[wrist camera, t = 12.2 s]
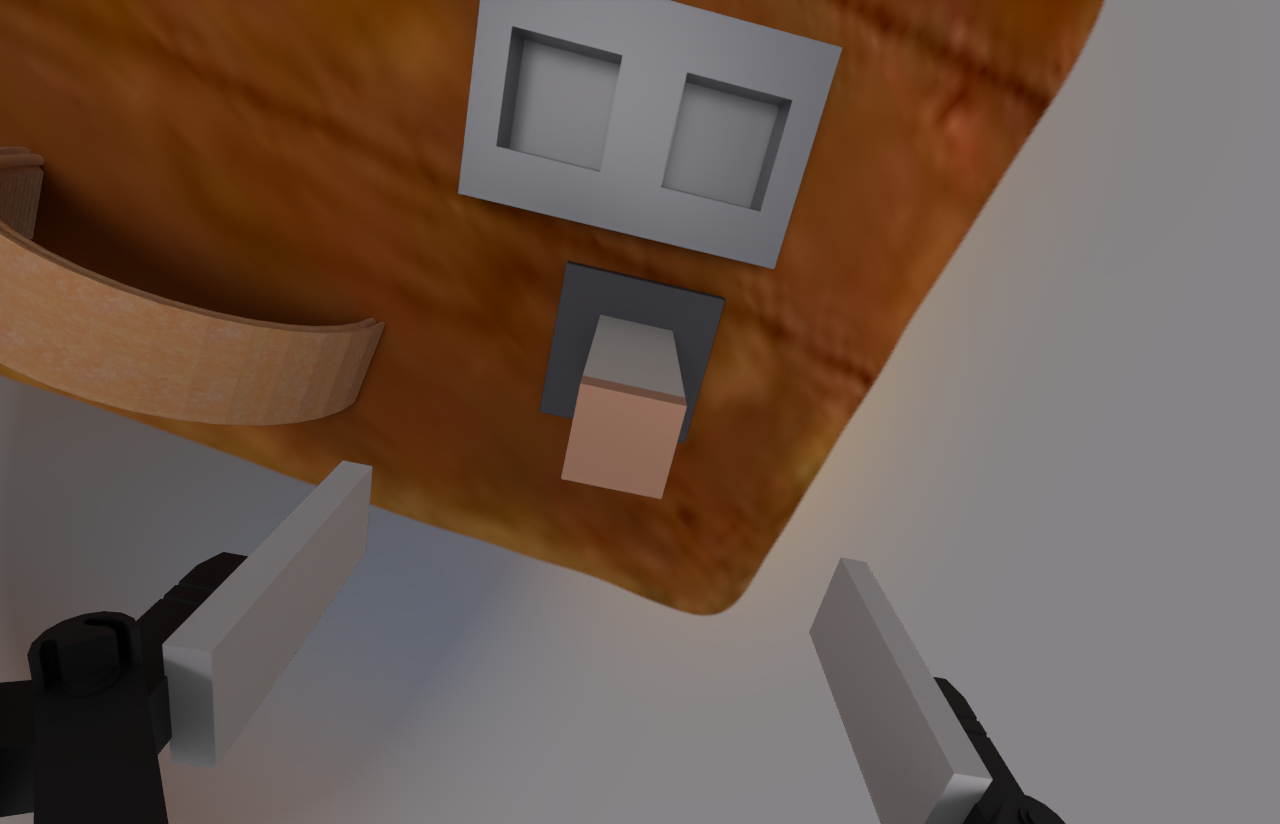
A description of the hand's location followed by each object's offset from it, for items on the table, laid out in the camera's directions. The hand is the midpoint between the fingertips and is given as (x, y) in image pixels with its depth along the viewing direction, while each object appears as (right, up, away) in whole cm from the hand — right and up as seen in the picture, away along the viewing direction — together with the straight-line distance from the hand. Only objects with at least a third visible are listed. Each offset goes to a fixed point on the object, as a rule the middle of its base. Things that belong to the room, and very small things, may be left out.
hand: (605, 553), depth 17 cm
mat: (0, +7, +19) cm, 21 cm away
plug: (0, +7, +18) cm, 20 cm away
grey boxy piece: (+1, +19, +15) cm, 24 cm away
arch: (-24, +11, +18) cm, 32 cm away
